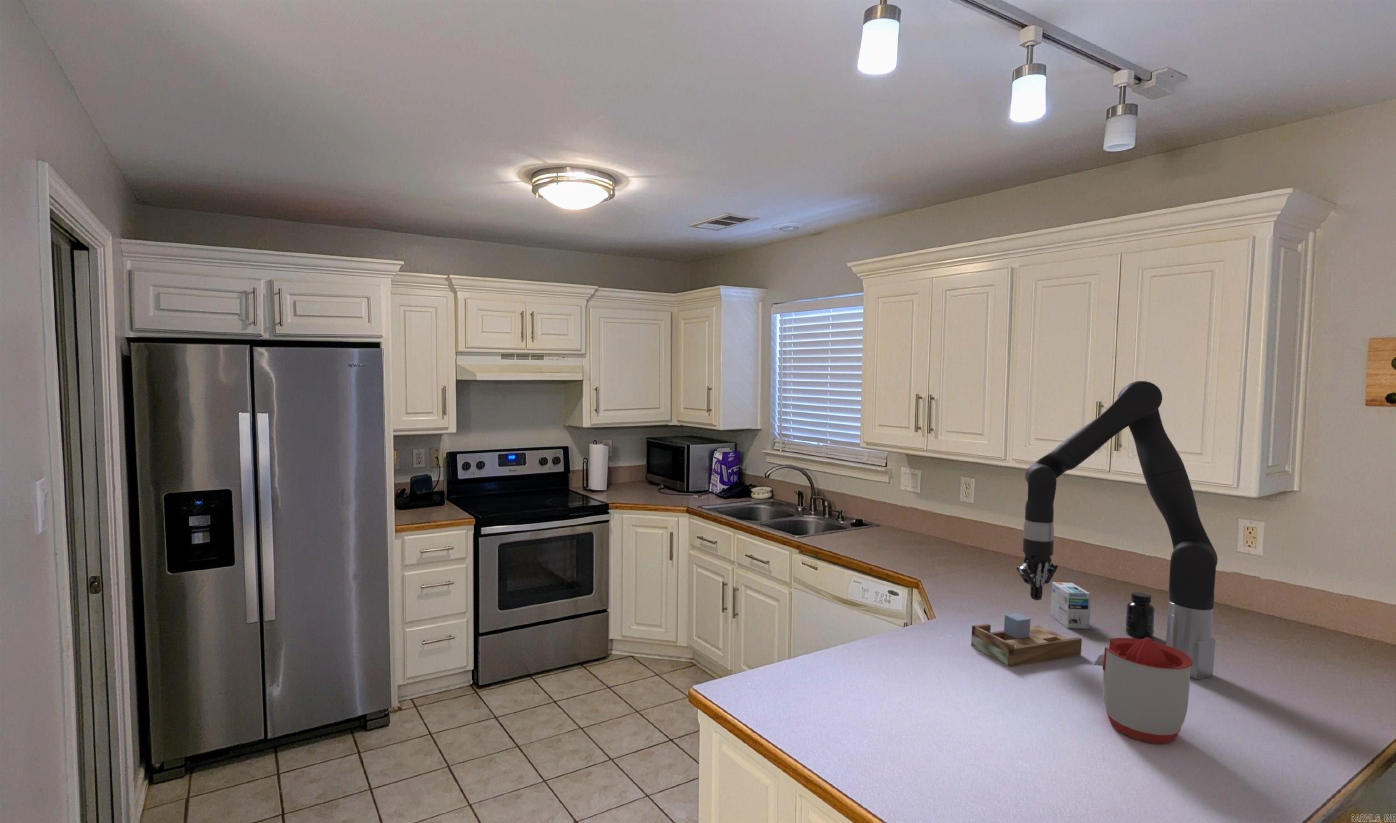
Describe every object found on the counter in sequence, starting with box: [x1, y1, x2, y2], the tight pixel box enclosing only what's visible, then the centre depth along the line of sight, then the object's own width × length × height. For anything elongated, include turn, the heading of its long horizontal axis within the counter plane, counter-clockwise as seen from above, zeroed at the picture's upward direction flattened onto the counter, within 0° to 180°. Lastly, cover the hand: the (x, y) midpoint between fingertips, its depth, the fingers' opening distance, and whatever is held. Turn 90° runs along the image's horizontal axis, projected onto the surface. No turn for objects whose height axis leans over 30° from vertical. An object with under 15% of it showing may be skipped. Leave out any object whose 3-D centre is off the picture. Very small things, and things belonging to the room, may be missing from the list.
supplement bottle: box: [1125, 591, 1156, 640], centre depth 200 cm, size 7×7×12 cm
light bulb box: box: [1050, 581, 1092, 629], centre depth 209 cm, size 11×7×11 cm, turn 179°
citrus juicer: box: [1092, 637, 1193, 745], centre depth 146 cm, size 16×17×20 cm
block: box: [1003, 612, 1031, 639], centre depth 190 cm, size 4×4×5 cm
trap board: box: [970, 623, 1083, 667], centre depth 187 cm, size 14×24×6 cm, turn 111°
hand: (1036, 599), depth 192 cm, fingers closed
